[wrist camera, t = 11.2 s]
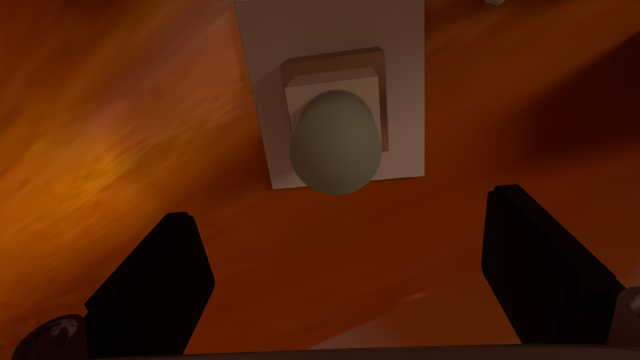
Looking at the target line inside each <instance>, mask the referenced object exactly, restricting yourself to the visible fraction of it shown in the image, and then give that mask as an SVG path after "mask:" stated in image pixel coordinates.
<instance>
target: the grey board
mask: <svg viewBox="0 0 640 360" xmlns="http://www.w3.org/2000/svg"><path fill="white" fill-rule="evenodd" d="M234 7H235V12H236V17H237V21H238V26H239V31H240V36H241V40H242V45H243V50H244V55H245V59H246V64H247V69H248V74H249V78H250V83H251V88H252V93H253V97H254V102H255V107H256V112H257V116H258V121H259V126H260V131H261V135H262V140H263V145H264V150H265V154H266V159H267V164H268V169H269V173H270V178H271V183H272V188H273V189H282V188H293V187H304V186H307V185H306V184H305V183H303V182H302V181H301V180H300V178H299V177H298V176H297V174H296V173H295V171H294V169H293V167H292V164H291V161H290V155H289V147H290V141H291V138H292V133H291V127H290V121H289V115H288V109H287V104H286V98H285V92H284V86H283V80H282V74H281V68H280V64H282V63H283V62H284V61H286V60H287V59H289V58H294V57H302V56H309V55H317V54H324V53H332V52H339V51H347V50H355V49H362V48H370V47H377V46H378V47H380V48H381V49H382V50H384V51H385V72H386V95H387V117H388V139H389V151H386V152H382V159H383V164H380V165H379V168H378V170H377V172H376V173H375V175H374V176H373V178H372V179H371V180H382V179H393V178H404V177H415V176H424V59H425V0H250V1H243V2H237V3H234ZM371 180H370V181H371Z"/></svg>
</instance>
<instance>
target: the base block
mask: <svg viewBox="0 0 640 360" xmlns="http://www.w3.org/2000/svg"><path fill="white" fill-rule="evenodd" d="M365 67H372V68H373V69H374V71H375V73H376V74H377V76H378V85H379V104H380V122H381V141H382V152H386V151H389V139H388V117H387V95H386V72H385V51H384V50H382V49H381V48H380V47H378V46H377V47H370V48H362V49H355V50H347V51H339V52H332V53H324V54H317V55H309V56H302V57H294V58H289V59H287V60H286V61H284V62H283V63H282V64H280V68H281V74H282V80H283V86H284V92H285V87H286V86H287V84H288V83H289V82H290V81H291V80H292V79H293V78H294V76H302V75H310V74H318V73H325V72H333V71H341V70H349V69H357V68H365ZM285 98H286V94H285ZM286 104H287V100H286ZM287 109H288V105H287ZM288 115H289V111H288ZM289 121H290V117H289ZM290 127H291V123H290ZM291 133H292V129H291Z"/></svg>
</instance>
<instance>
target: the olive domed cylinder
mask: <svg viewBox="0 0 640 360" xmlns="http://www.w3.org/2000/svg"><path fill="white" fill-rule="evenodd" d="M289 155H290V161H291V164H292V167H293V169H294V171H295V173H296V174H297V176H298V177H299V178H300V180H301V181H302V182H303V183H305V184H306V185H307V186H309V187H310V188H312V189H314V190H316V191H318V192H321V193H325V194H331V195H341V194H347V193H351V192H353V191H356V190H358V189H360V188H361V187H363V186H364V185H366V184H367V183H368V182H369V181H370V180H371V179H372V178H373V176H374V175H375V173H376V172H377V170H378V168H379V165H380V162H381V157H382V146H381V141H380V137H379V134H378V131H377V128H376V125H375V121H374V118H373V115H372V112H371V110H370V108H369V107H368V105H367V104H366V102H365V101H364V100H363V99H362V98H360V97H359V96H358V95H356V94H354V93H352V92H349V91H345V90H338V89H337V90H329V91H325V92H322V93H320V94H318V95H317V96H315V97H314V98H313V99H311V100H310V101H309V103H308V104H307V105H306V107H305V108H304V110H303V112H302V115H301V117H300V119H299V121H298V124H297V126H296V128H295V131H294V133H293V135H292V138H291V141H290V147H289Z"/></svg>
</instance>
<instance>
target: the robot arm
mask: <svg viewBox="0 0 640 360" xmlns="http://www.w3.org/2000/svg"><path fill="white" fill-rule="evenodd" d="M481 266H482V271H483V274H484V276H485V278H486V279H487V281H488V283H489V285H490V287H491V289H492V290H493V292H494V294H495V296H496V298H497V299H498V301H499V303H500V305H501V307H502V308H503V310H504V312H505V314H506V316H507V317H508V319H509V321H510V323H511V325H512V327H513V328H514V330H515V332H516V334H517V335H518V337H519V339H520V341H521V343H522V344H490V345H489V344H487V345H450V346H449V345H448V346H412V347H377V348H345V349H315V350H286V351H257V352H232V353H206V354H183V352H184V350H185V348H186V346H187V344H188V342H189V340H190V338H191V336H192V334H193V331H194V329H195V327H196V325H197V323H198V321H199V319H200V317H201V315H202V313H203V311H204V308H205V306H206V304H207V302H208V300H209V298H210V296H211V294H212V292H213V290H214V286H215V280H214V276H213V273H212V270H211V267H210V264H209V261H208V258H207V255H206V252H205V249H204V246H203V243H202V240H201V237H200V234H199V231H198V228H197V225H196V222H195V220H194V218H193V216H189V214H188V213H187V212H175V213H167V214H166V215H165V216H164V217H163V218H162V219H161V220H160V221H159V223H158V224H157V225H156V226H155V227H154V228H153V229H152V230H151V231H150V232H149V234H148V235H147V236H146V237H145V238H144V239H143V240H142V241H141V242H140V243H139V245H138V246H137V247H136V248H135V249H134V250H133V251H132V252H131V253H130V254H129V256H128V257H127V258H126V259H125V260H124V261H123V262H122V263H121V264H120V265H119V266H118V268H117V269H116V270H115V271H114V272H113V273H112V274H111V275H110V276H109V277H108V279H107V280H106V281H105V282H104V283H103V284H102V285H101V286H100V287H99V288H98V290H97V291H96V292H95V293H94V294H93V295H92V296H91V297H90V298H89V299H88V301H87V302H86V303H85V304H84V305H85V307H86V309H87V310H88V313H87V314H86V315H85V317H84V318H83V317H82V316H80V315H78V314H68V315H63V316H60V317H57V318H54V319H52V320H50V321H48V322H46V323H44V324H42V325H40V326H39V327H37V328H36V329H35V330H33V331H32V332H30V333H29V334H28V335H27V336H26V337H25V338H24V339H23V340H21V342H20V343H19V344H18V345H17V347H16V348H15V350H14V352H13V355H12V360H640V286H635V287H629V288H625V287H624V286H623V285H622V284H621V283H620V282H619V281H618V280H617V279H616V276H615V275H614V274H613V273H612V272H611V271H610V270H609V269H608V268H607V267H606V266H605V265H604V264H602V263H601V262H600V261H599V260H598V259H597V258H596V257H595V256H594V255H593V254H592V253H591V252H590V251H589V250H587V249H586V248H585V247H584V246H583V245H582V244H581V243H580V242H579V241H578V240H577V239H576V238H575V237H574V236H573V235H572V234H570V233H569V232H568V231H567V230H566V229H565V228H564V227H563V226H562V225H561V224H560V223H559V222H558V221H557V220H556V219H554V218H553V217H552V216H551V215H550V214H549V213H548V212H547V211H546V210H545V209H544V208H543V207H542V206H541V205H540V204H538V203H537V202H536V201H535V200H534V199H533V198H532V197H531V196H530V195H529V194H528V193H527V192H526V191H525V190H524V189H522V188H521V187H520V186H519V185H518V184H513V185H501V186H496V187H495V188H494V191H490V192H489V193H488V196H487V207H486V218H485V228H484V239H483V249H482V260H481Z"/></svg>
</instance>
